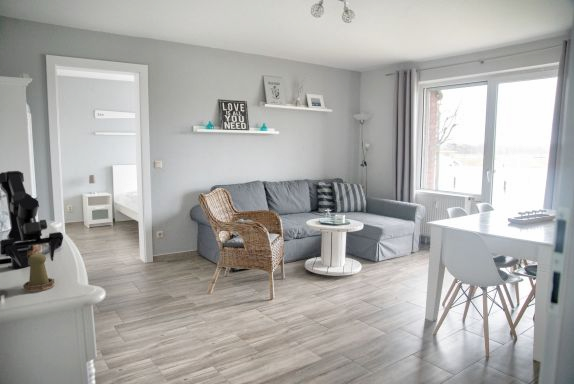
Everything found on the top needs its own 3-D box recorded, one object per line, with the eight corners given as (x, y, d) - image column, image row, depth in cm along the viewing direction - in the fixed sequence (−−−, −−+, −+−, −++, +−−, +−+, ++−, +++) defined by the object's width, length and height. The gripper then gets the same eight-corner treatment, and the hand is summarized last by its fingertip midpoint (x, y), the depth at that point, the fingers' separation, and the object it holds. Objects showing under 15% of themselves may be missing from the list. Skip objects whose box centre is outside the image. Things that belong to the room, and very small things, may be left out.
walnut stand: (18, 289, 138) (18, 284, 138) (44, 282, 145) (44, 276, 145) (33, 293, 134) (33, 288, 133) (59, 285, 141) (59, 280, 141)
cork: (35, 289, 136) (33, 257, 134) (25, 286, 138) (22, 255, 137) (53, 283, 141) (50, 253, 140) (42, 281, 144) (39, 251, 142)
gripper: (-3, 216, 135) (5, 255, 128) (59, 210, 147) (70, 245, 140) (-4, 235, 141) (4, 273, 134) (56, 228, 154) (66, 262, 147)
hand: (37, 262), depth 139 cm, fingers open, 9 cm apart
